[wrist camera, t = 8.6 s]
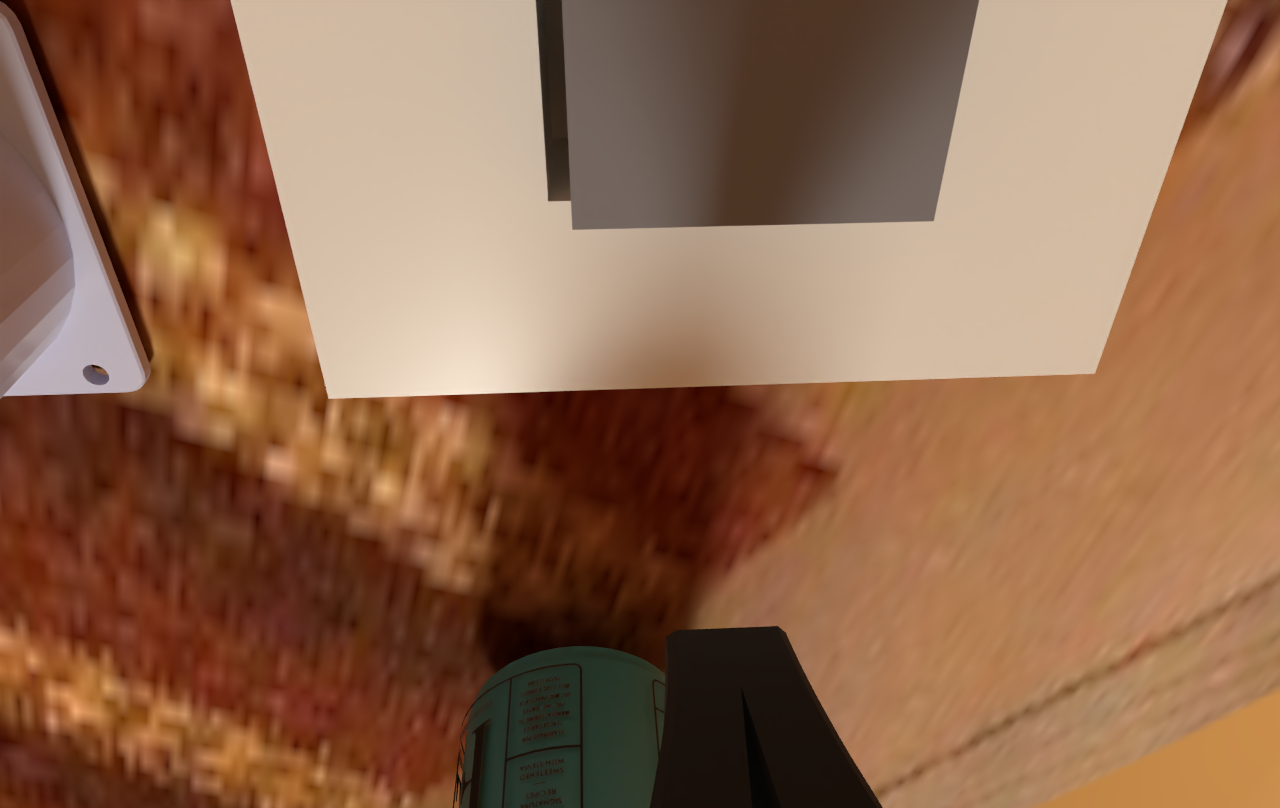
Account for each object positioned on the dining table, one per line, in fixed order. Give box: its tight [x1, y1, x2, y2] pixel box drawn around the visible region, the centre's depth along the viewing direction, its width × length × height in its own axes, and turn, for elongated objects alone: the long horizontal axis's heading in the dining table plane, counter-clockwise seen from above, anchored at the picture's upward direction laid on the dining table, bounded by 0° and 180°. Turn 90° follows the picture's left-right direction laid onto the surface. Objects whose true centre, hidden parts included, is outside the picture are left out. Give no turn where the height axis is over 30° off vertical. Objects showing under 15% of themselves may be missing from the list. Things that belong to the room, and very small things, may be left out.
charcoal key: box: [562, 0, 979, 230], centre depth 12 cm, size 5×5×3 cm
